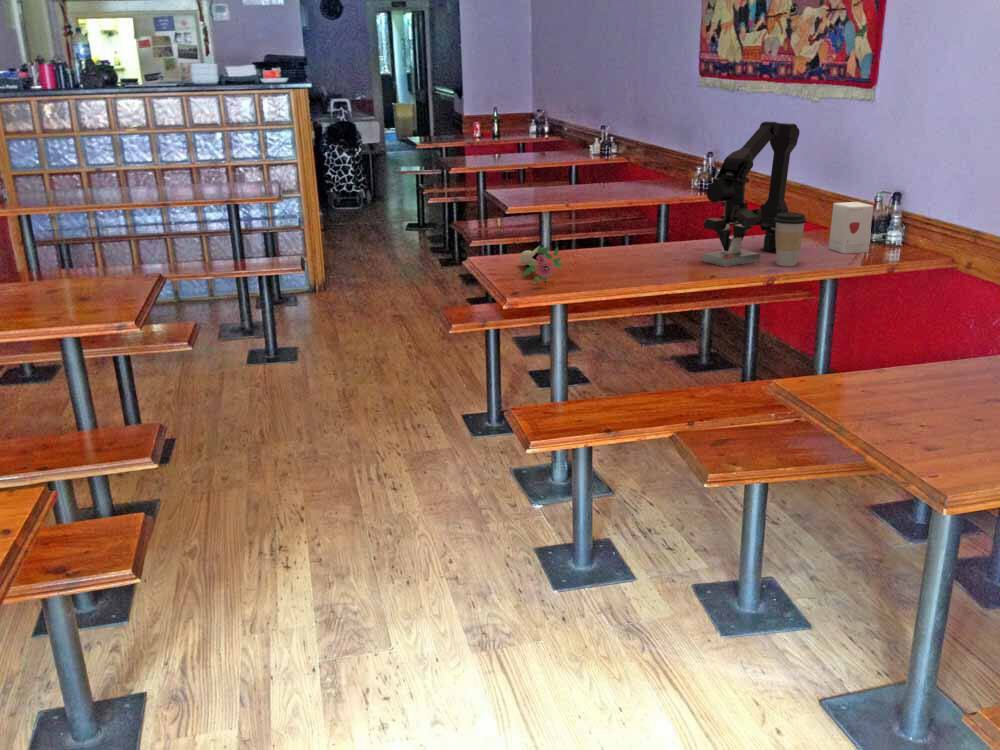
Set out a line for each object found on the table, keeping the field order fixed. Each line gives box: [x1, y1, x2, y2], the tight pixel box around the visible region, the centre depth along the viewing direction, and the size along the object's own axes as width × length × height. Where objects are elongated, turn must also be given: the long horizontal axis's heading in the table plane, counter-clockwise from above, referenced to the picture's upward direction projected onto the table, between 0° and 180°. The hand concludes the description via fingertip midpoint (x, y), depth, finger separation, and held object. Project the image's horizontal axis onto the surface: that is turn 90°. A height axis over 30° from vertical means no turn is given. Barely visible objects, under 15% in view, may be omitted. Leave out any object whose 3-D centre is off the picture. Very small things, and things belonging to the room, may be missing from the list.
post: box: [721, 235, 743, 255], centre depth 285 cm, size 4×4×7 cm
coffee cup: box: [774, 212, 808, 267], centre depth 279 cm, size 9×9×15 cm
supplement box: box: [828, 201, 874, 255], centre depth 296 cm, size 9×9×15 cm
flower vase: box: [519, 245, 564, 283], centre depth 268 cm, size 12×12×35 cm
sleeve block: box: [701, 248, 761, 267], centre depth 286 cm, size 14×10×3 cm
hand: (731, 250), depth 285 cm, fingers closed on post, 4 cm apart
